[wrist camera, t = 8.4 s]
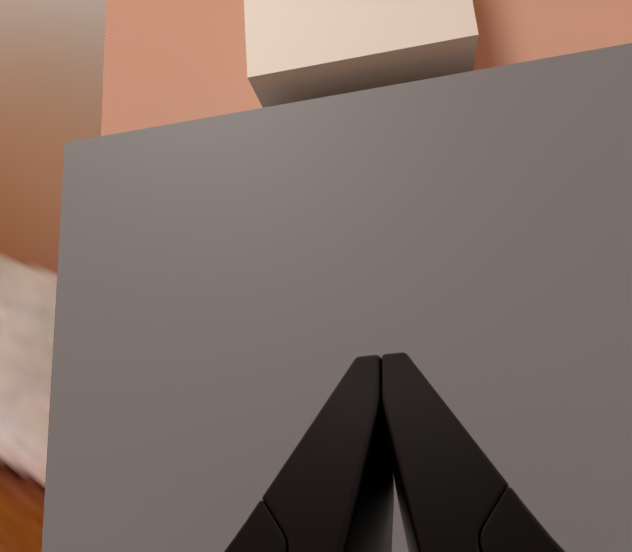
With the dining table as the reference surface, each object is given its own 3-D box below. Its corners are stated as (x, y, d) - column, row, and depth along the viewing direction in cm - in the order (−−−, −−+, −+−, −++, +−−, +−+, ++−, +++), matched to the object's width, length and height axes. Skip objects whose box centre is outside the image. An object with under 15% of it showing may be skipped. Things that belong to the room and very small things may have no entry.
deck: (788, 552, 15) (916, 601, 11) (118, 574, 18) (37, 617, 14) (663, 106, 18) (726, 25, 15) (127, 190, 22) (64, 142, 18)
